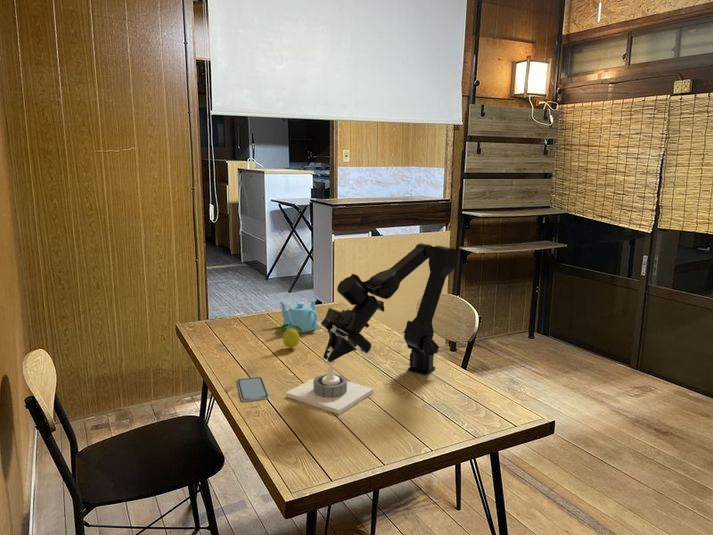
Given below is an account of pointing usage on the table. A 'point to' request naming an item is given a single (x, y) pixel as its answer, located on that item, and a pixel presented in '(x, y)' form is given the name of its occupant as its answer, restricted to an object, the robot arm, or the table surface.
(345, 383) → the collar board
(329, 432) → the table surface
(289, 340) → the lemon
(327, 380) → the chess piece
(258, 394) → the smartphone
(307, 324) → the teapot
